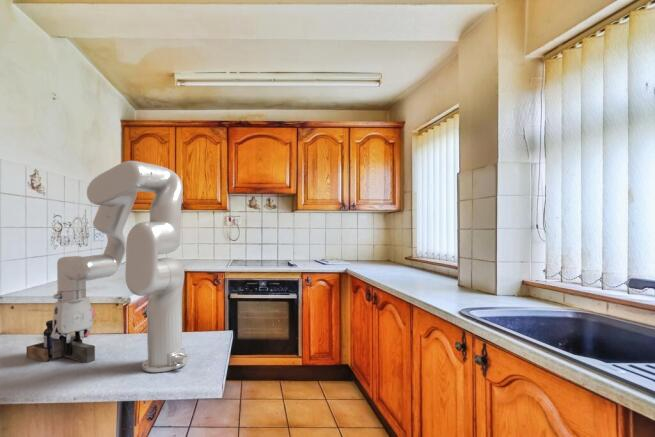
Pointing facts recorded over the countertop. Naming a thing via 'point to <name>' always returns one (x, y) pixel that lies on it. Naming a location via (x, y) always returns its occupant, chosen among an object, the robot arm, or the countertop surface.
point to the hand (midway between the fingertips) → (72, 352)
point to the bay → (38, 352)
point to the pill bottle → (49, 337)
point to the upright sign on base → (74, 351)
